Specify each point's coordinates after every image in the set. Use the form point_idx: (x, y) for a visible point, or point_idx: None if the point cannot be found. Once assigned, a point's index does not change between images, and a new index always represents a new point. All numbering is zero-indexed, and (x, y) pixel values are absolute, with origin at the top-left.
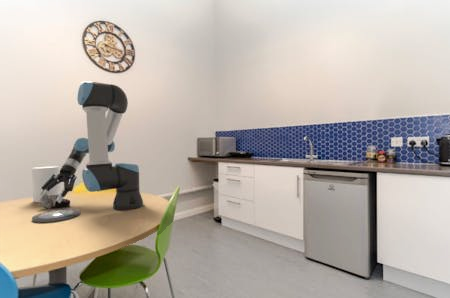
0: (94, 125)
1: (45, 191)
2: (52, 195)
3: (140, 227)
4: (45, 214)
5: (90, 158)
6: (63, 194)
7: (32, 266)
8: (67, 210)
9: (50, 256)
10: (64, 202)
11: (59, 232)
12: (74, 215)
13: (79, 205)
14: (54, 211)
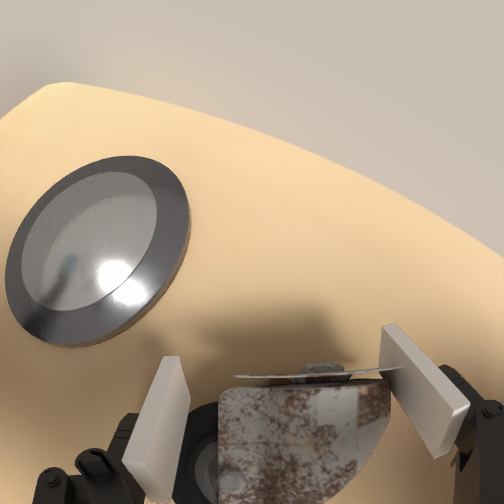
0: None
1: (438, 401)
2: (316, 430)
3: None
4: (133, 210)
5: None
6: (125, 421)
7: (32, 94)
8: (61, 298)
9: (20, 108)
10: None
11: (26, 148)
12: (13, 243)
13: None
14: (122, 267)
